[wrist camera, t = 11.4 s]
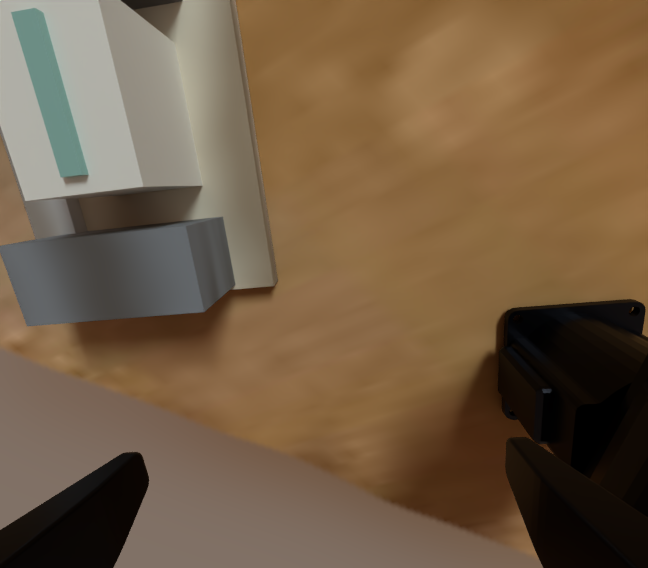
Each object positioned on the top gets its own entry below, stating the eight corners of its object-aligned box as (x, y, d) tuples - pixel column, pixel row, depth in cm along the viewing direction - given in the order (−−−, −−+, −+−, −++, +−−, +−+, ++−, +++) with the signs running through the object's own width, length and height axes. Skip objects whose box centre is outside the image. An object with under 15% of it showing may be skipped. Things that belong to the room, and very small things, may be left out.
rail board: (220, -102, 14) (154, -243, 10) (277, 280, 19) (252, 313, 14) (-37, -49, 16) (-207, -150, 11) (74, 298, 20) (-12, 334, 15)
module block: (174, 43, 15) (85, -28, 10) (203, 185, 17) (138, 186, 12) (79, 58, 16) (-52, -1, 11) (115, 196, 17) (17, 201, 12)
